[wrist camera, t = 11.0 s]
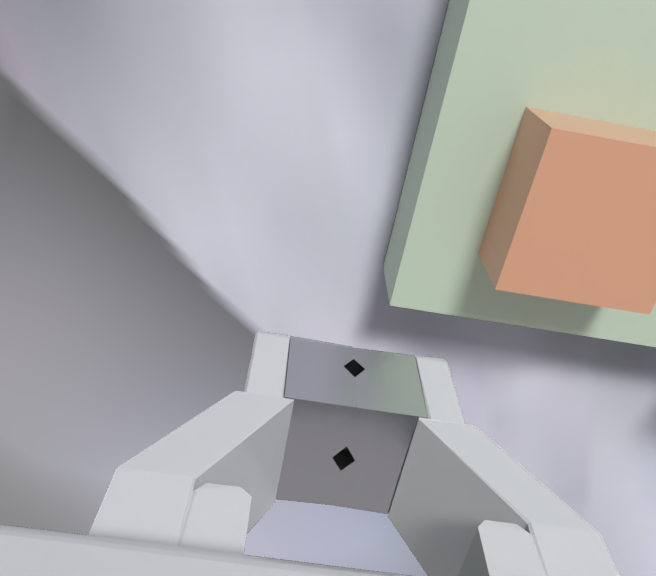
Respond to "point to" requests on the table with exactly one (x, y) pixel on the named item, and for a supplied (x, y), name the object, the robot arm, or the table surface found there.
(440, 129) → the board
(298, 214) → the table surface
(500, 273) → the tile
